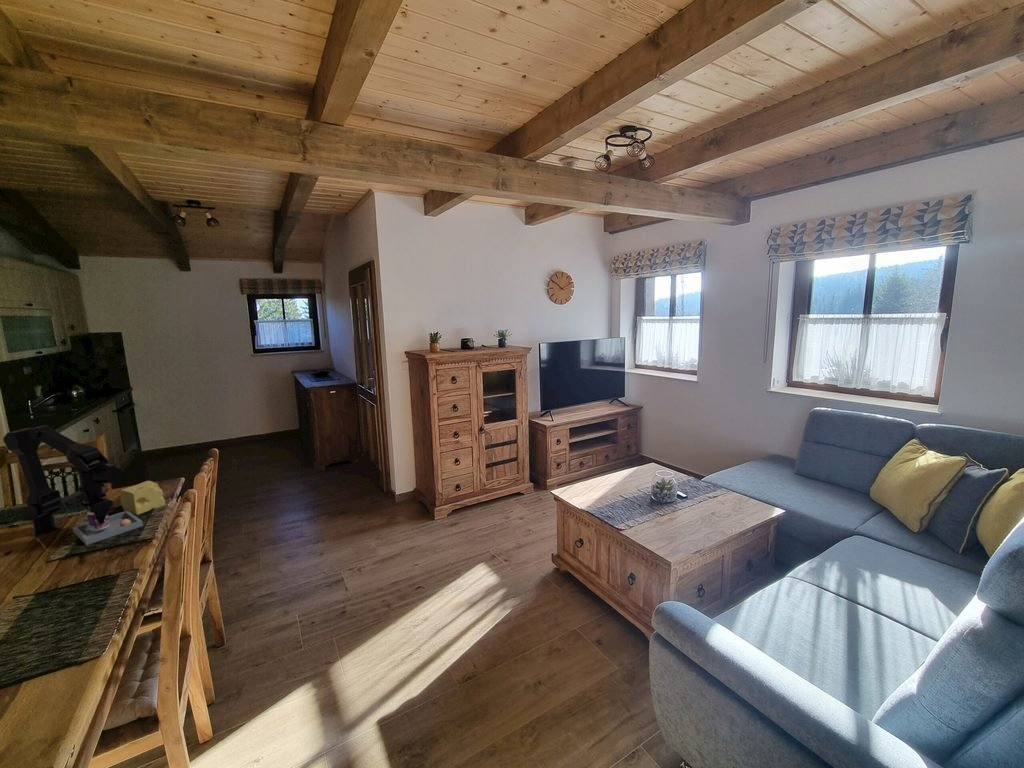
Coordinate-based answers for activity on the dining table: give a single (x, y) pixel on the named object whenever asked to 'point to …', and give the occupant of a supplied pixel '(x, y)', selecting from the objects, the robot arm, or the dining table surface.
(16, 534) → the dining table surface
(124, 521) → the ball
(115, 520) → the tray
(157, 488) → the cheese
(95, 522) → the pill bottle
